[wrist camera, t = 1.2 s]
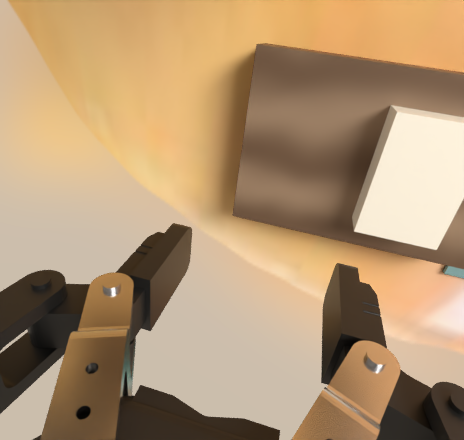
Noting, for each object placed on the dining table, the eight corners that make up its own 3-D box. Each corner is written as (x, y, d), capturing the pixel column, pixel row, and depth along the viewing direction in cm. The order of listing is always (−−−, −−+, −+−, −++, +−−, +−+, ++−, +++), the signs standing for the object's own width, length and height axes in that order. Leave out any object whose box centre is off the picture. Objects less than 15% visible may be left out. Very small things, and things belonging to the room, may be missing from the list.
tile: (390, 105, 23) (397, 111, 21) (483, 120, 22) (499, 129, 20) (352, 216, 28) (354, 231, 26) (428, 233, 27) (436, 250, 25)
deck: (265, 43, 27) (256, 44, 24) (539, 83, 24) (574, 91, 21) (242, 197, 34) (232, 215, 31) (451, 244, 31) (466, 270, 28)
